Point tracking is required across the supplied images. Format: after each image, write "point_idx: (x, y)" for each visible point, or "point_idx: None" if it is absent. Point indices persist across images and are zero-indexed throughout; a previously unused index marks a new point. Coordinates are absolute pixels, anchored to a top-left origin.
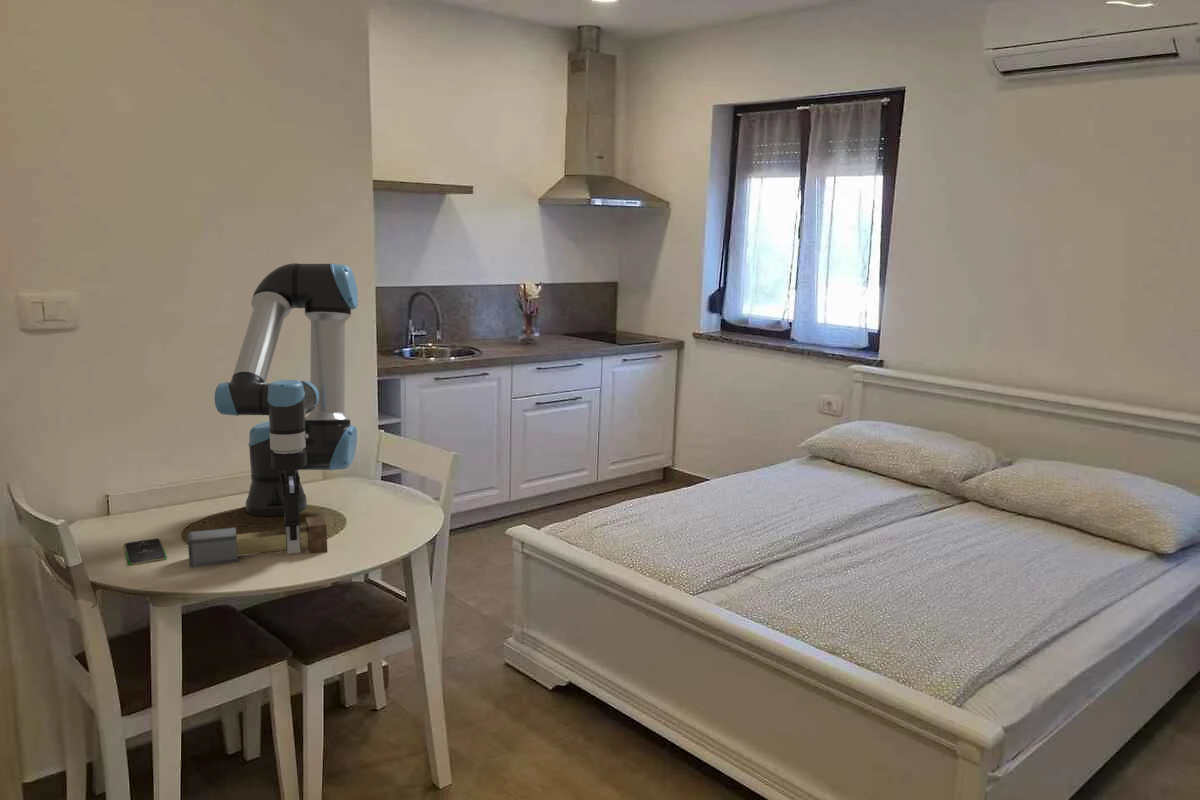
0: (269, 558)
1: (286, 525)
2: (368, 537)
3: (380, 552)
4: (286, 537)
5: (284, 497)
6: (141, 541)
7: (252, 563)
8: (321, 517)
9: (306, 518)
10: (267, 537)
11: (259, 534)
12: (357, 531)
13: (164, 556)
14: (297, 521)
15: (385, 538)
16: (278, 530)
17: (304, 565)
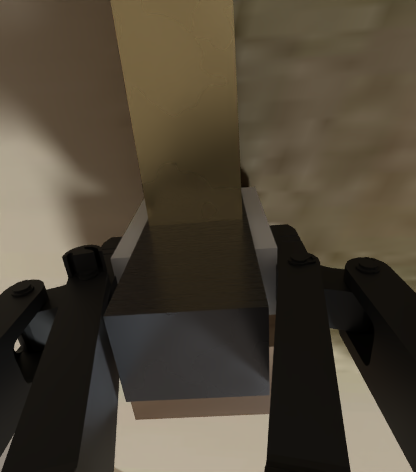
0: (125, 114)
1: (71, 269)
2: (268, 425)
3: (122, 440)
4: (148, 221)
5: (409, 356)
6: None
7: (65, 29)
8: (264, 406)
9: (273, 348)
10: (131, 119)
11: (181, 62)
12: (343, 404)
13: None
14: (18, 354)
15: (242, 456)
16: (234, 184)
17: (25, 253)
